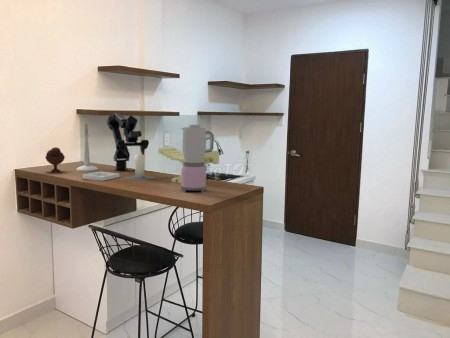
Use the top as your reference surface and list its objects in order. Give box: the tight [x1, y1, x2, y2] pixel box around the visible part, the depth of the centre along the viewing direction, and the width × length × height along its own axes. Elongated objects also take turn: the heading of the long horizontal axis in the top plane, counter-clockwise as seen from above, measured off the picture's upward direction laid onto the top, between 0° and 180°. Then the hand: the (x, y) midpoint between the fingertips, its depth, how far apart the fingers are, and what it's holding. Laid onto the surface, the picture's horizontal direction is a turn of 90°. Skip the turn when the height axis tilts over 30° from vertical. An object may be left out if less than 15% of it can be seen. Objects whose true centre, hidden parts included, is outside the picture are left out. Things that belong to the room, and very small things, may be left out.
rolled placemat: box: [134, 154, 145, 178], centre depth 209 cm, size 5×5×13 cm
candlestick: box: [76, 123, 98, 172], centre depth 236 cm, size 13×13×30 cm
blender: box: [180, 124, 215, 193], centre depth 179 cm, size 16×12×32 cm
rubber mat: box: [122, 175, 157, 181], centre depth 210 cm, size 14×14×1 cm
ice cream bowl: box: [45, 147, 66, 173], centre depth 226 cm, size 11×11×15 cm
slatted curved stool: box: [157, 146, 220, 184], centre depth 206 cm, size 30×16×18 cm, turn 61°
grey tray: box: [81, 171, 120, 182], centre depth 206 cm, size 14×14×2 cm
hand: (135, 155), depth 214 cm, fingers open, 9 cm apart
